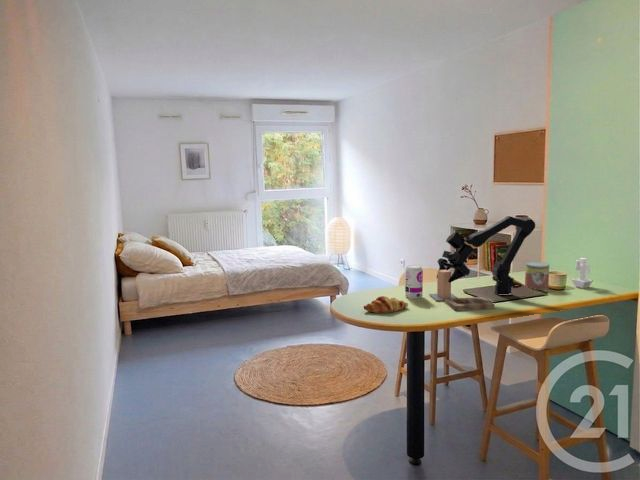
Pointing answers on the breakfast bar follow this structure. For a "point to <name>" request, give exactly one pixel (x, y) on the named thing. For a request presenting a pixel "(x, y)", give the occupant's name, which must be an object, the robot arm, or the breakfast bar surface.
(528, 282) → the canned food
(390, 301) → the croissant
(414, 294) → the supplement can
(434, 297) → the slate pad
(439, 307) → the breakfast bar surface
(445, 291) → the terracotta block
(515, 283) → the sunglasses case
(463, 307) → the puzzle board
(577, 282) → the figurine
